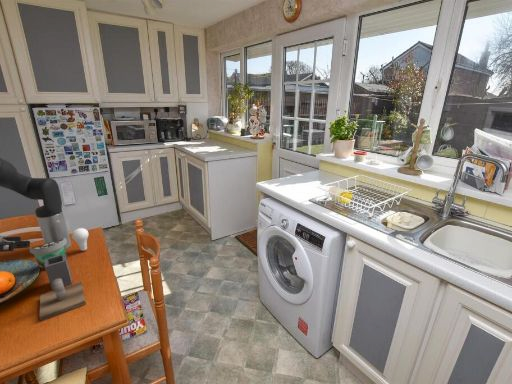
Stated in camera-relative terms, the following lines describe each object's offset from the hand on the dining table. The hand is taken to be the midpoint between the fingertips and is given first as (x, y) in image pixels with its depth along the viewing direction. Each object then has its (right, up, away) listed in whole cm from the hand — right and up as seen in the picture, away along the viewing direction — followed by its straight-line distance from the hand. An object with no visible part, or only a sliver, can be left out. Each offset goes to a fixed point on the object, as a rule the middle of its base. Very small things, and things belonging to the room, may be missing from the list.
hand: (24, 241), depth 88 cm
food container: (-6, -14, +21) cm, 26 cm away
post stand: (+11, -21, +2) cm, 24 cm away
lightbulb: (-1, -10, +32) cm, 34 cm away
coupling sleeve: (+4, -18, +11) cm, 21 cm away
